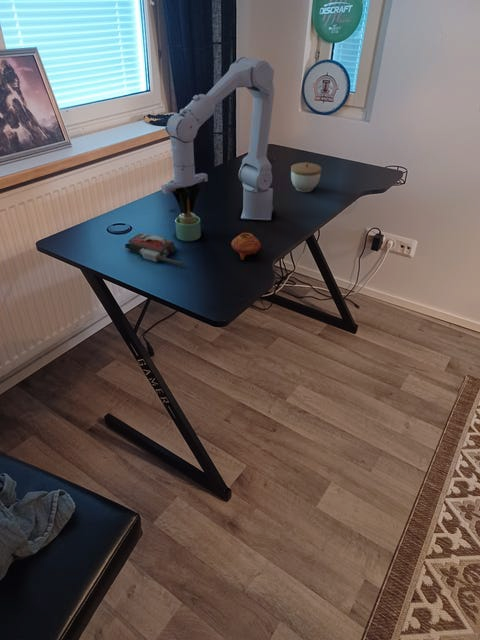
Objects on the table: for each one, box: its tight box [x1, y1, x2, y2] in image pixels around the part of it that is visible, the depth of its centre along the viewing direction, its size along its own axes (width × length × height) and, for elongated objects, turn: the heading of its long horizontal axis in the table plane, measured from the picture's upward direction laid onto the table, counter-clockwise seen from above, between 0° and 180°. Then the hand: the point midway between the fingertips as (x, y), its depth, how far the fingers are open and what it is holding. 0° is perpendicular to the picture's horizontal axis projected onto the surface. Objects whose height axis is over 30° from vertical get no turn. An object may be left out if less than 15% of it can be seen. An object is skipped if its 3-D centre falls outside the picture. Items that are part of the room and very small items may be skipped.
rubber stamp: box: [178, 198, 197, 225], centre depth 130 cm, size 5×5×8 cm
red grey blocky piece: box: [124, 233, 184, 266], centre depth 124 cm, size 9×4×20 cm
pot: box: [230, 232, 262, 261], centre depth 123 cm, size 8×8×7 cm
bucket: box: [174, 215, 202, 242], centre depth 133 cm, size 7×7×5 cm
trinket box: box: [290, 161, 323, 193], centre depth 162 cm, size 11×11×9 cm
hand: (187, 211), depth 130 cm, fingers closed on rubber stamp
